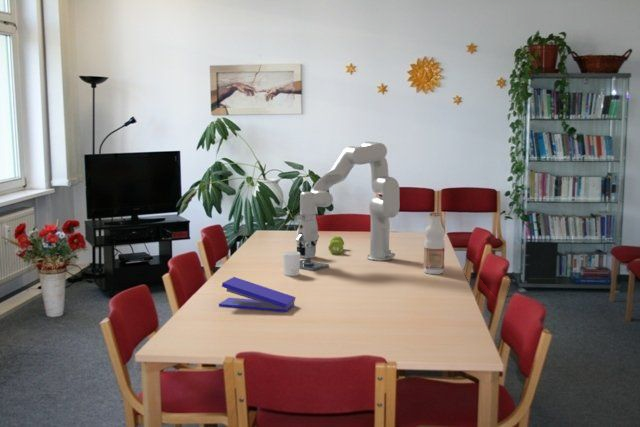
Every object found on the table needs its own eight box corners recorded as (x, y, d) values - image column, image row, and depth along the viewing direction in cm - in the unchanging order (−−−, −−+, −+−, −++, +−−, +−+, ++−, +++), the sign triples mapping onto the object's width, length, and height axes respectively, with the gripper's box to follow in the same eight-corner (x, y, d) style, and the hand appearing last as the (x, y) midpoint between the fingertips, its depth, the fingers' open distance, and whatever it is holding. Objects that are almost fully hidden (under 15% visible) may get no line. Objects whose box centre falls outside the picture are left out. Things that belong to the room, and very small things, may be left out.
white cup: (298, 276, 334) (298, 255, 332) (281, 276, 335) (281, 254, 334) (301, 273, 341) (302, 251, 340) (285, 272, 343) (285, 251, 341)
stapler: (229, 300, 294) (229, 276, 293) (296, 305, 287) (296, 281, 285) (217, 307, 283) (217, 282, 282) (286, 313, 276) (286, 288, 274)
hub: (317, 255, 355) (318, 245, 355) (308, 258, 350) (308, 247, 349) (306, 253, 360) (306, 243, 359) (296, 256, 354) (296, 245, 353)
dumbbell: (343, 255, 384) (343, 241, 383) (327, 254, 384) (327, 241, 383) (344, 249, 400) (344, 235, 399) (329, 248, 401) (330, 235, 400)
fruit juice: (419, 271, 346) (420, 212, 342) (434, 269, 351) (436, 211, 347) (432, 275, 338) (434, 215, 334) (448, 273, 343) (450, 213, 339)
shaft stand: (328, 266, 355) (328, 243, 353) (313, 270, 346) (313, 247, 344) (303, 262, 365) (303, 239, 363) (287, 266, 355) (287, 243, 354)
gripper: (302, 220, 343) (302, 257, 345) (325, 216, 356) (324, 252, 359) (290, 218, 347) (289, 255, 350) (313, 214, 361) (312, 250, 364)
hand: (307, 253), depth 354 cm, fingers closed on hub, 7 cm apart
